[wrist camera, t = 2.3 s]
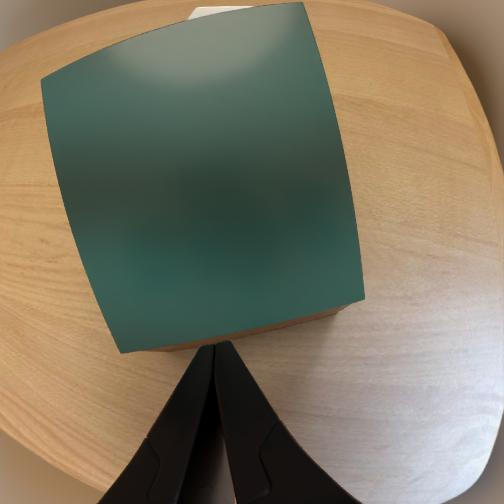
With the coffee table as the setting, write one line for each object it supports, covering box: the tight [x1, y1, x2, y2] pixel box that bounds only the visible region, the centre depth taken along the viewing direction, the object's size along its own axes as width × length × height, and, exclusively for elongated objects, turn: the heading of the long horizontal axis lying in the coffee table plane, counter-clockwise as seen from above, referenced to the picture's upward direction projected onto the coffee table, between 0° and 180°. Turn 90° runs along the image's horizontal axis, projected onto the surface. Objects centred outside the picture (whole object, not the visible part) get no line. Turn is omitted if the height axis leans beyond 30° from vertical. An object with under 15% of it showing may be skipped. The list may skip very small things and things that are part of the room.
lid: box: [41, 2, 365, 354], centre depth 13 cm, size 14×13×1 cm
